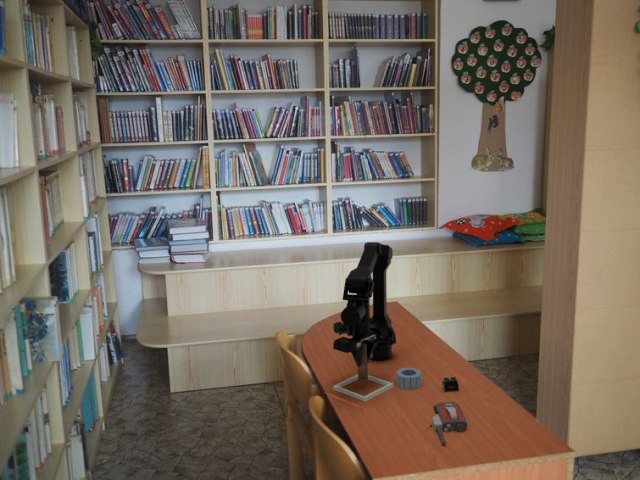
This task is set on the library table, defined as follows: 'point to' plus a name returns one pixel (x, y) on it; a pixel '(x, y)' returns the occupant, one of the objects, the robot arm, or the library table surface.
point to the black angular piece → (450, 383)
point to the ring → (409, 378)
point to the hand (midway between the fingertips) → (362, 364)
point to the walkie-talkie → (448, 419)
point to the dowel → (363, 365)
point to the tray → (358, 396)
